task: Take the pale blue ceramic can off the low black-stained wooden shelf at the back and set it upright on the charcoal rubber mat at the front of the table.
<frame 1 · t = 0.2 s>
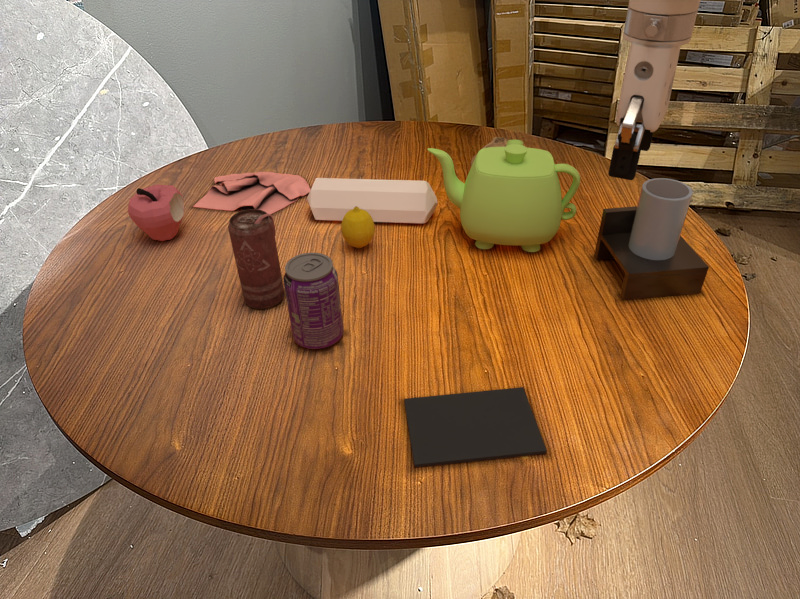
hand: (629, 162, 82), 21 cm above the table, tool pointing down, fingers open, 9 cm apart
cloth: (251, 194, 121), on the table
mat: (471, 426, 73), on the table
beverage can: (318, 337, 87), on the table
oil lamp: (495, 176, 125), on the table
teapot: (498, 225, 110), on the table
blue cup: (651, 248, 94), point 5 cm above the table, touching shelf
fruit: (359, 249, 105), on the table
apple: (165, 237, 109), on the table
crystal: (372, 215, 114), on the table
can: (265, 299, 94), on the table
shelf: (644, 273, 97), on the table
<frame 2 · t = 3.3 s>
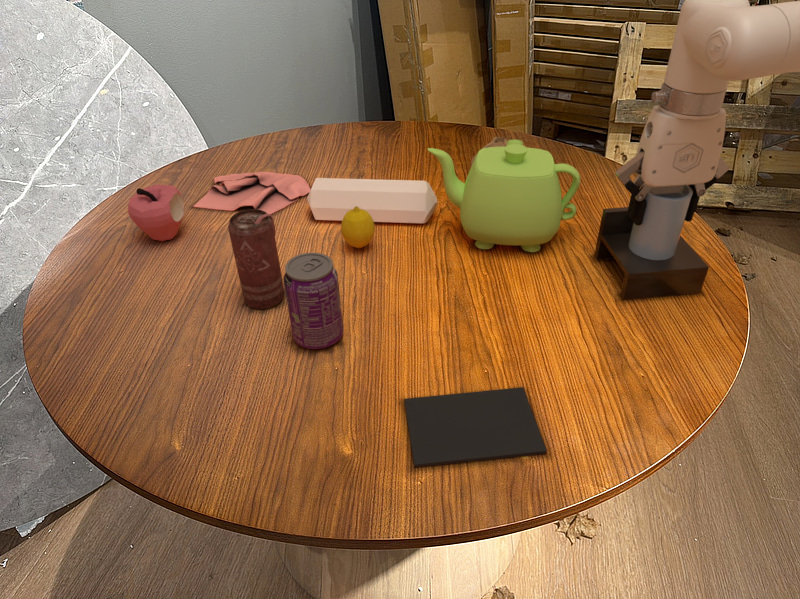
hand: (659, 217, 91), 10 cm above the table, tool pointing down, fingers closed on blue cup, 6 cm apart
blue cup: (651, 248, 94), point 5 cm above the table, touching gripper, shelf
everything else where it was.
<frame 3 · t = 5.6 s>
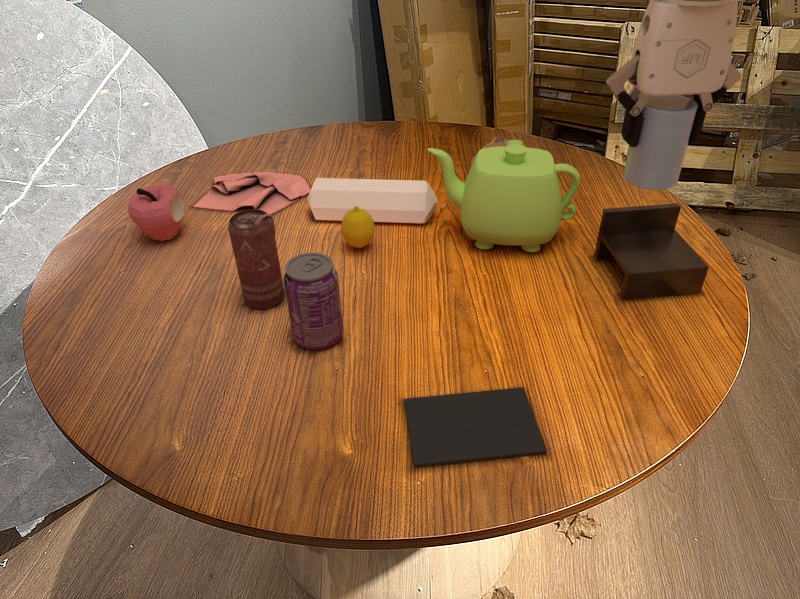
hand: (659, 140, 78), 24 cm above the table, tool pointing down, fingers closed on blue cup, 6 cm apart
blue cup: (649, 178, 81), point 19 cm above the table, touching gripper
everything else where it was.
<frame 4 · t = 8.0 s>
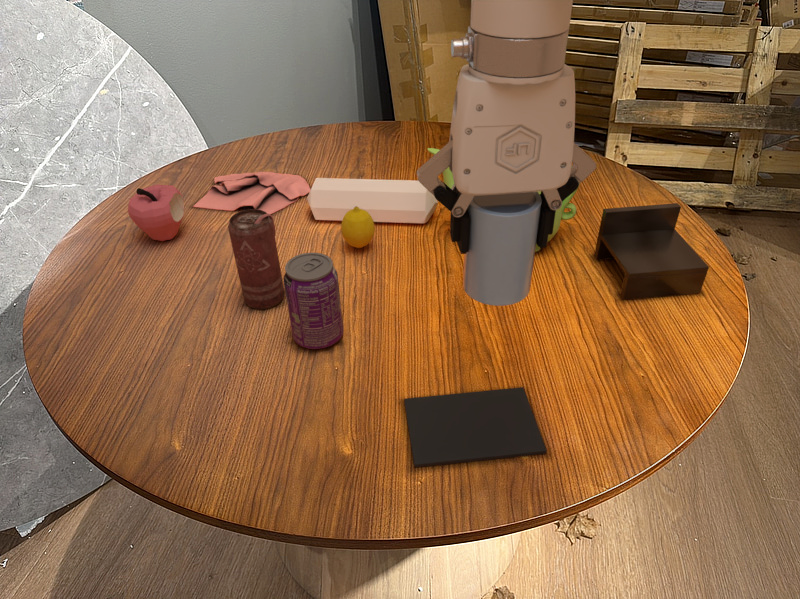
hand: (500, 242, 59), 25 cm above the table, tool pointing down, fingers closed on blue cup, 6 cm apart
blue cup: (496, 285, 63), point 19 cm above the table, touching gripper
everything else where it was.
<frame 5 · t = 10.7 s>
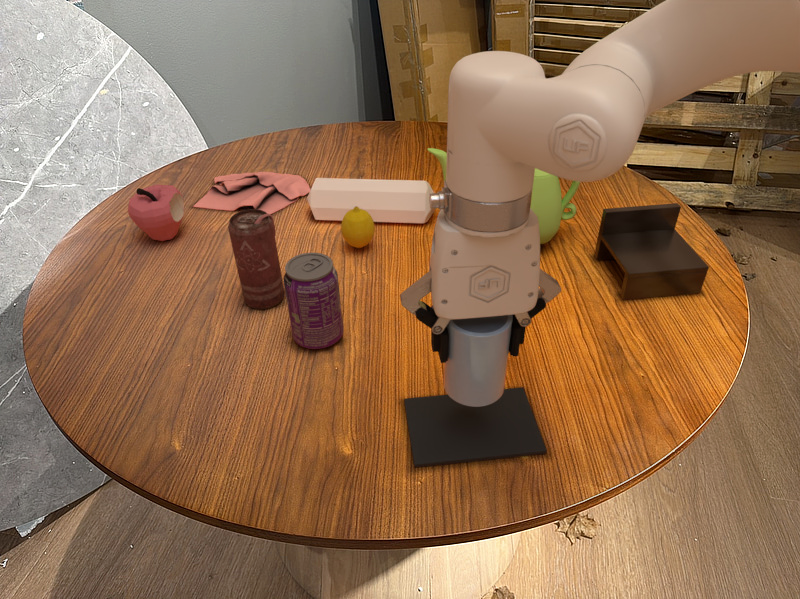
hand: (476, 349, 65), 12 cm above the table, tool pointing down, fingers closed on blue cup, 6 cm apart
blue cup: (473, 384, 69), point 7 cm above the table, touching gripper
everything else where it was.
when the fingers open (6 cm above the table, at t = 12.8 s): blue cup stays where it is, resting on mat.
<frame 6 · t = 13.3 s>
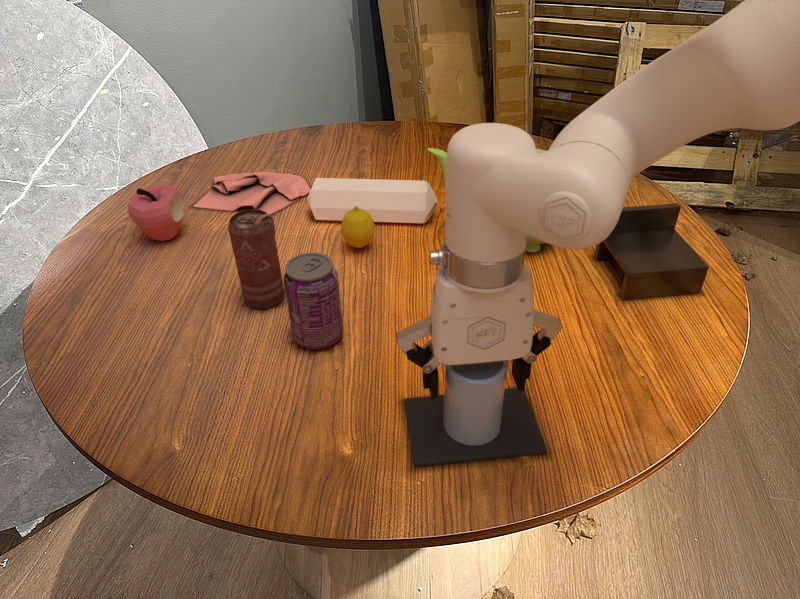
hand: (475, 386, 69), 7 cm above the table, tool pointing down, fingers open, 9 cm apart
blue cup: (471, 422, 73), point 1 cm above the table, touching mat
everything else where it was.
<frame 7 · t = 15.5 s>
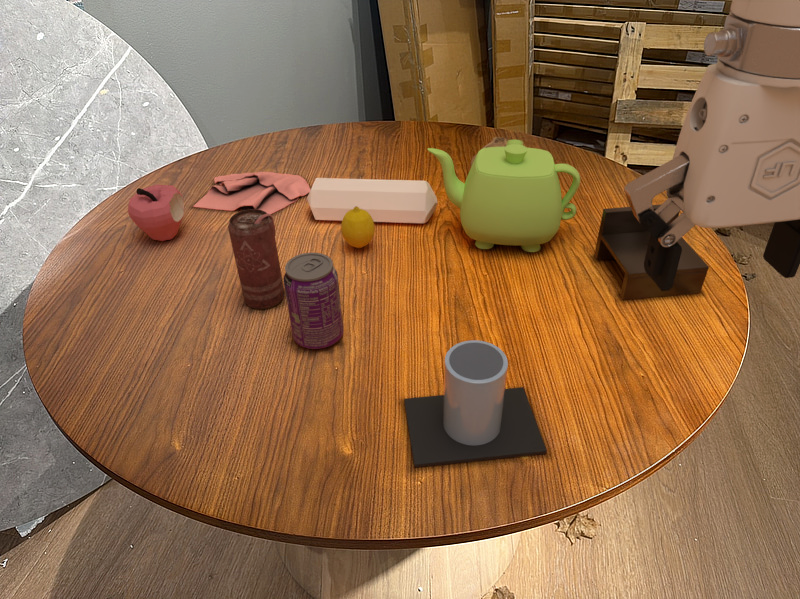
hand: (717, 274, 48), 28 cm above the table, tool pointing down, fingers open, 9 cm apart
nothing on the table moved.
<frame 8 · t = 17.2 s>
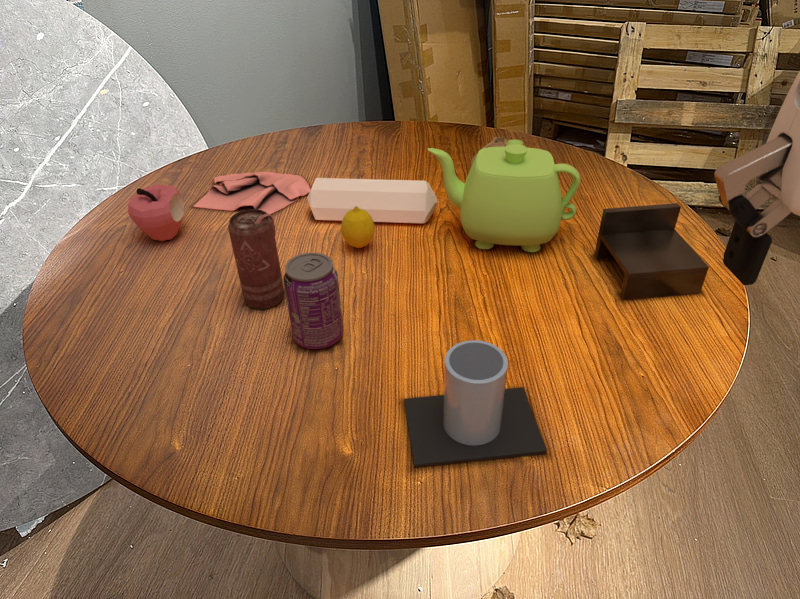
nothing on the table moved.
at the end: blue cup inside the target area on the mat (0.1 cm from its centre), point 0.6 cm above the mat's base; blue cup tilted 0°; blue cup touching mat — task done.
